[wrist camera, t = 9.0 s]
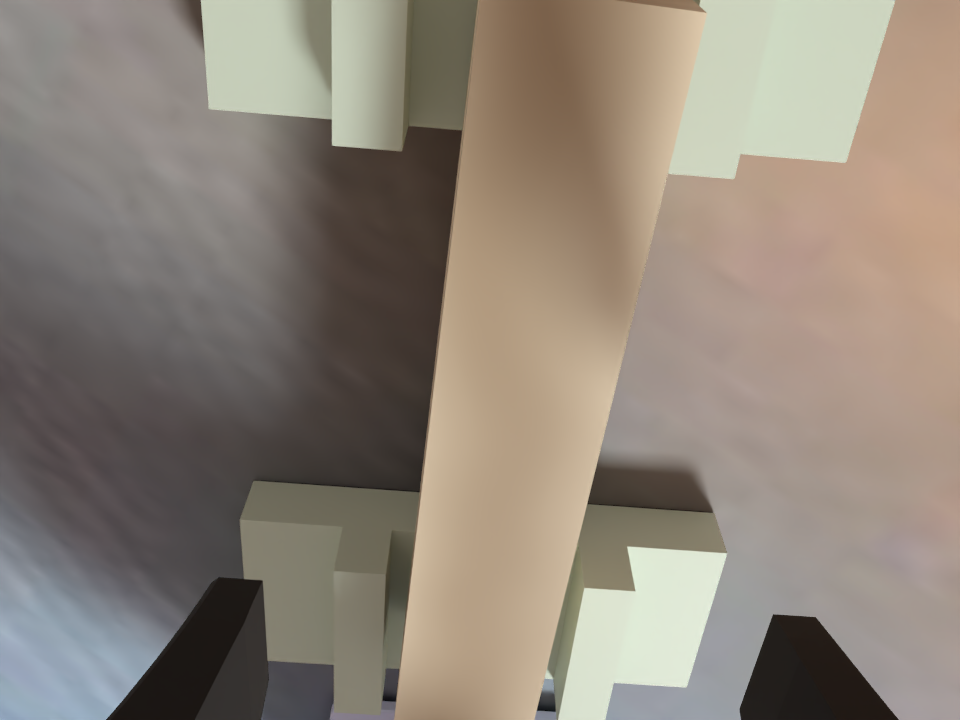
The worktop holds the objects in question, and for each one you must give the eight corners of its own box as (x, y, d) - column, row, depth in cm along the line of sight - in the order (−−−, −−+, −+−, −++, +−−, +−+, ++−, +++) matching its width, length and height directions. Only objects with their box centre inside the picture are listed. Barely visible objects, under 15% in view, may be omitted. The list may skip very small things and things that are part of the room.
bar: (658, -31, 15) (707, 13, 12) (519, 623, 23) (524, 760, 20) (484, -55, 15) (481, -18, 12) (405, 612, 23) (390, 749, 20)
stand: (676, 644, 26) (697, 734, 23) (261, 617, 26) (236, 706, 23) (899, -141, 16) (981, -134, 13) (210, -208, 15) (154, -213, 13)
